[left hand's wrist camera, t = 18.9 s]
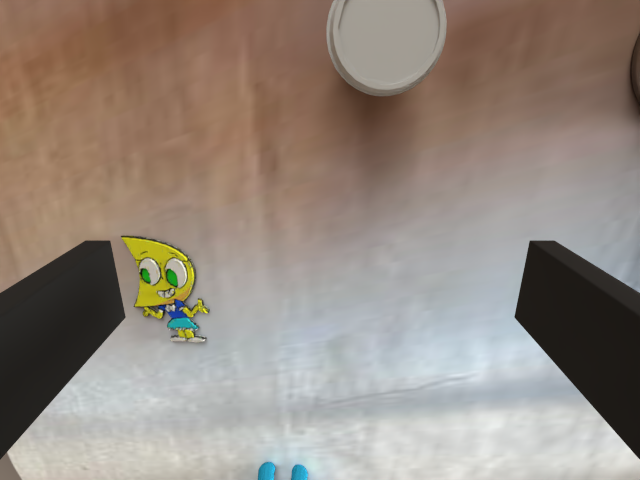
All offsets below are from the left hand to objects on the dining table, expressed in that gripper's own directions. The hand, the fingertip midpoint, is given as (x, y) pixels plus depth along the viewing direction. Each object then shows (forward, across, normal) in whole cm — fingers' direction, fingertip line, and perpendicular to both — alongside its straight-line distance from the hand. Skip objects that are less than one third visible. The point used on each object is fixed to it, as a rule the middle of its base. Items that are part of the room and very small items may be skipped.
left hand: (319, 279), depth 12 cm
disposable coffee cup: (+34, +5, +10) cm, 36 cm away
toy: (+34, -20, -18) cm, 44 cm away
